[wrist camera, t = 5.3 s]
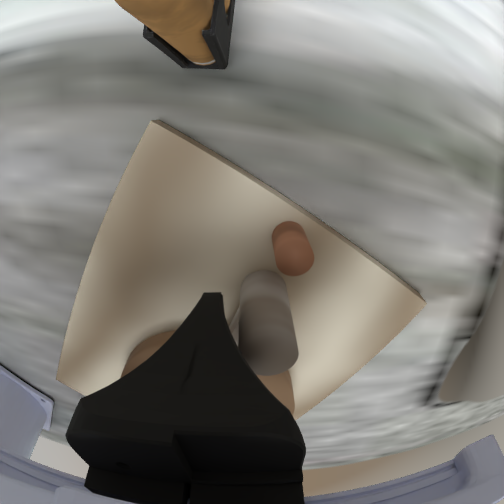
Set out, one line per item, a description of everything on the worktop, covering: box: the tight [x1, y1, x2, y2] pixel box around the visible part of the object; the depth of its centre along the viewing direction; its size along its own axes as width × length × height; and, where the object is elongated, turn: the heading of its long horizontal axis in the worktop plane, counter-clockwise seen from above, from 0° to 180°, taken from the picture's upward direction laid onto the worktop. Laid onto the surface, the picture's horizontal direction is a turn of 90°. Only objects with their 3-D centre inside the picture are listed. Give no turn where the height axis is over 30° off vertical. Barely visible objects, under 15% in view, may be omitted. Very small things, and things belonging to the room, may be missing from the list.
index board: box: [56, 120, 427, 420], centre depth 16 cm, size 16×19×3 cm
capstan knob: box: [120, 270, 299, 416], centre depth 14 cm, size 14×10×4 cm
